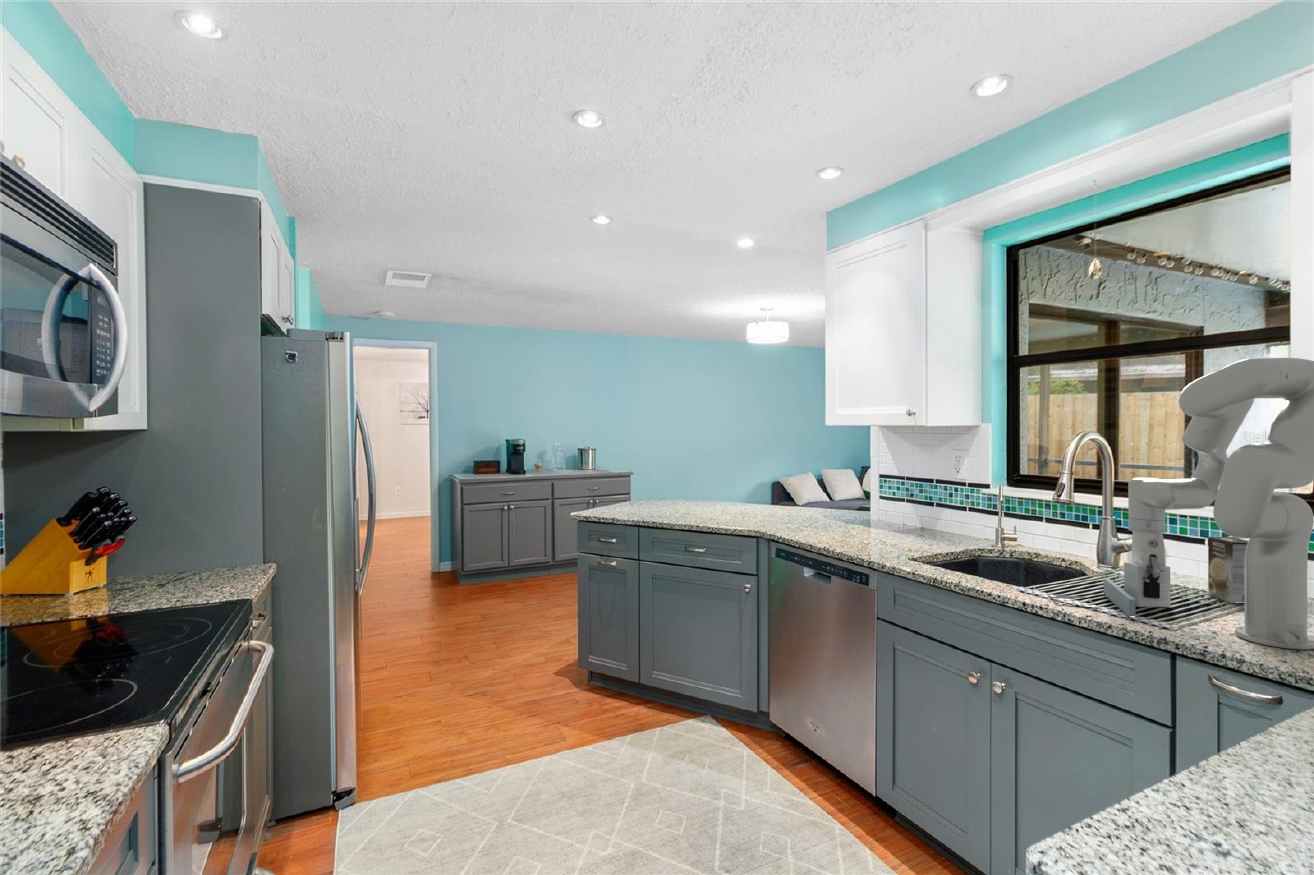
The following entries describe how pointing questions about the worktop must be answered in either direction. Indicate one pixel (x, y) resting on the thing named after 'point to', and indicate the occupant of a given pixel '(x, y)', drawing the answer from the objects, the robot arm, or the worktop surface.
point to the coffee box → (1226, 568)
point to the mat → (1067, 597)
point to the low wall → (1119, 597)
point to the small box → (1135, 586)
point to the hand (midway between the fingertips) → (1146, 593)
